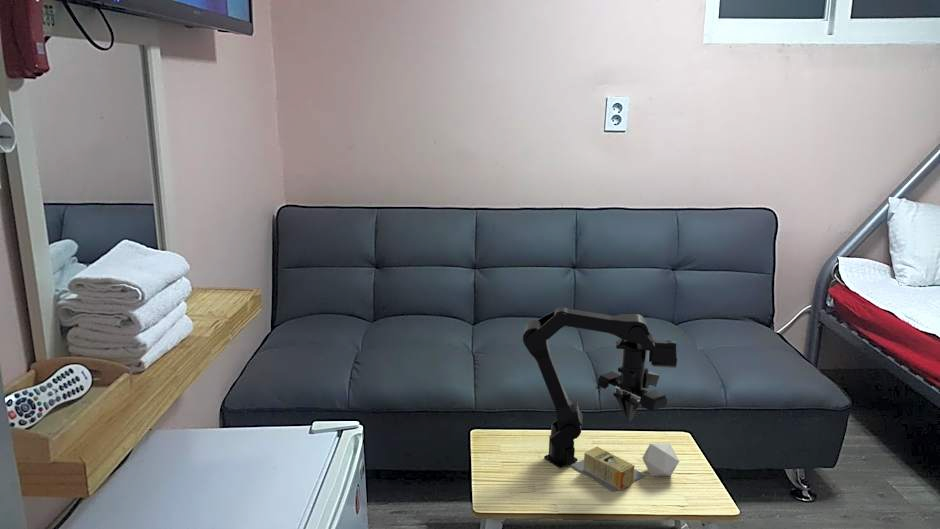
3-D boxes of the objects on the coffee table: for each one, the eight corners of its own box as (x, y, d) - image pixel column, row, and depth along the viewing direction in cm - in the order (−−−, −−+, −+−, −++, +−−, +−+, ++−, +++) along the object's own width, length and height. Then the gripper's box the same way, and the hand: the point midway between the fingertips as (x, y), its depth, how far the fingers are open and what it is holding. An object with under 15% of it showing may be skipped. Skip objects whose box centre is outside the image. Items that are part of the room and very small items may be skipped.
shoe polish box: (634, 465, 177) (597, 446, 186) (621, 472, 174) (584, 452, 183) (633, 483, 178) (596, 463, 187) (620, 490, 175) (583, 469, 184)
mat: (571, 466, 186) (571, 465, 186) (603, 452, 193) (603, 451, 193) (612, 491, 175) (612, 490, 175) (645, 476, 182) (645, 475, 182)
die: (670, 488, 178) (689, 454, 179) (640, 470, 178) (660, 436, 179) (661, 481, 186) (679, 449, 187) (632, 464, 186) (651, 432, 187)
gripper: (683, 369, 177) (678, 426, 181) (626, 346, 191) (622, 399, 196) (654, 379, 171) (649, 438, 175) (597, 355, 185) (594, 410, 189)
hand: (629, 420), depth 184 cm, fingers closed
